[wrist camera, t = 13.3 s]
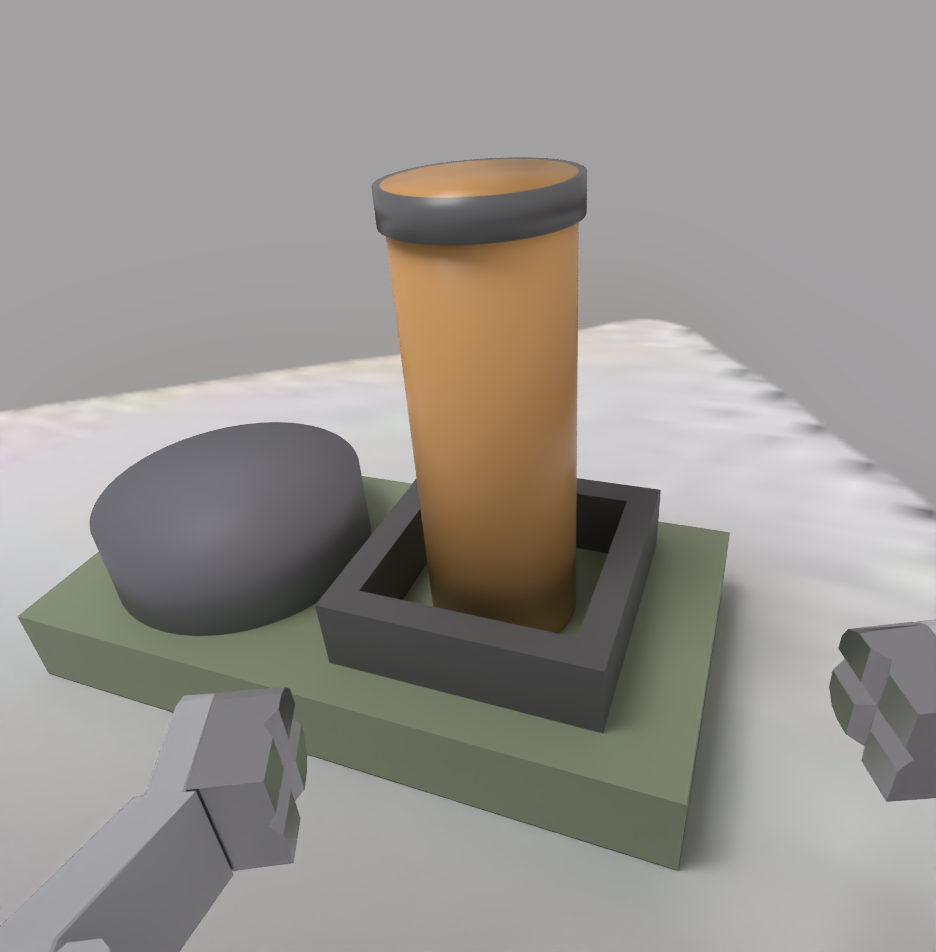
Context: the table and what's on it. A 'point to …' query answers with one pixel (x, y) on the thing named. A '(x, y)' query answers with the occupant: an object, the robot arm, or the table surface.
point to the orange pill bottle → (491, 376)
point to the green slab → (401, 632)
